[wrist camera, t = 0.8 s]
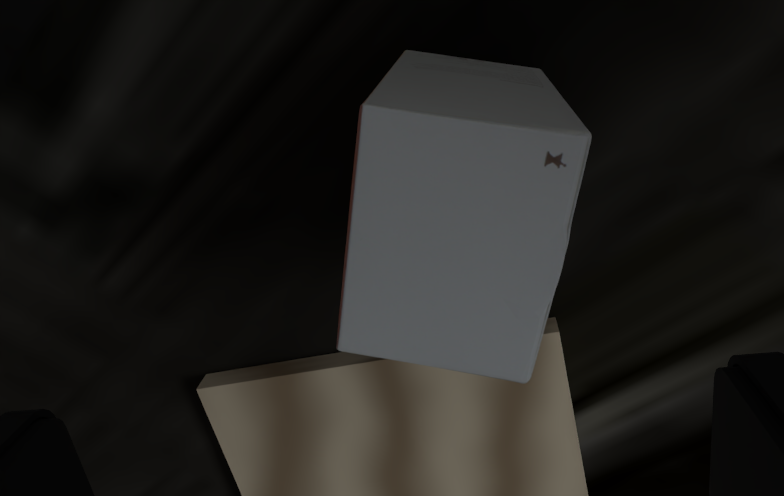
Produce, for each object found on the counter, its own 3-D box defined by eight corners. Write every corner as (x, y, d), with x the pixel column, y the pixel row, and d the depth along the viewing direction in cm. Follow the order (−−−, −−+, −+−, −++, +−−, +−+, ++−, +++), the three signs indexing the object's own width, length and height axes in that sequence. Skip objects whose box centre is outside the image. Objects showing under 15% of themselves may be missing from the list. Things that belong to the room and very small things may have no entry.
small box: (403, 47, 28) (358, 96, 17) (544, 66, 28) (601, 130, 16) (382, 214, 32) (332, 356, 20) (508, 233, 31) (534, 389, 20)
